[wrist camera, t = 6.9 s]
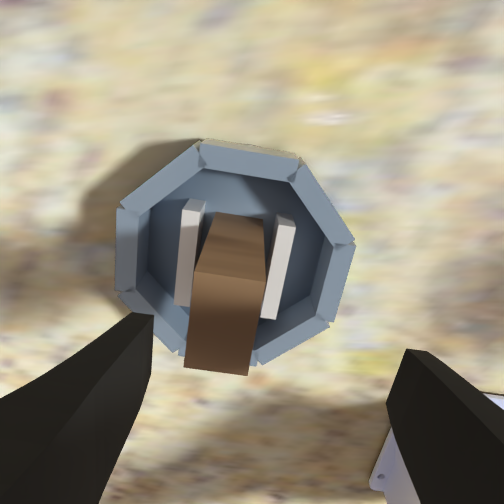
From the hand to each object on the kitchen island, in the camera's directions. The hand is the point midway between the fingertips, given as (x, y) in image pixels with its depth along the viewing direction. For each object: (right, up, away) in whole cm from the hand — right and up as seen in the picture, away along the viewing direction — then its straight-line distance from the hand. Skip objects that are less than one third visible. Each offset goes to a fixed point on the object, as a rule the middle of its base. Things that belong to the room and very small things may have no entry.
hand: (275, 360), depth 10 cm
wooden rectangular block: (-2, +3, +9) cm, 10 cm away
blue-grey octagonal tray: (-2, +3, +9) cm, 10 cm away
